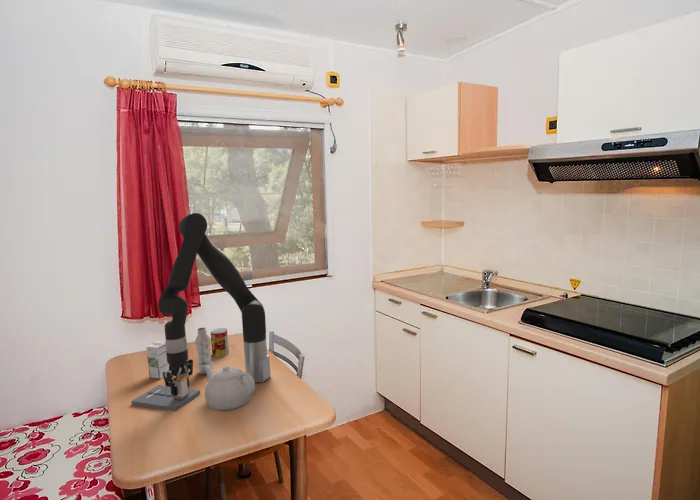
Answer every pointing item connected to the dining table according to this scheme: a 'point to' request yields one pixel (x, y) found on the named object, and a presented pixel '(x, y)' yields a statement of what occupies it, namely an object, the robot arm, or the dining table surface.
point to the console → (163, 398)
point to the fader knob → (182, 387)
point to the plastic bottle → (203, 350)
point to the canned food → (219, 342)
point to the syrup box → (157, 360)
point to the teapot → (228, 388)
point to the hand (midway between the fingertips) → (180, 391)
